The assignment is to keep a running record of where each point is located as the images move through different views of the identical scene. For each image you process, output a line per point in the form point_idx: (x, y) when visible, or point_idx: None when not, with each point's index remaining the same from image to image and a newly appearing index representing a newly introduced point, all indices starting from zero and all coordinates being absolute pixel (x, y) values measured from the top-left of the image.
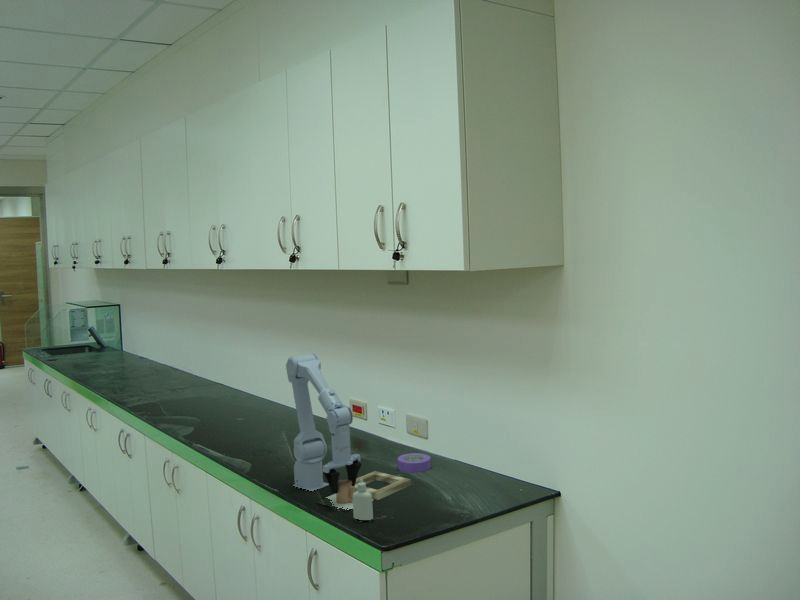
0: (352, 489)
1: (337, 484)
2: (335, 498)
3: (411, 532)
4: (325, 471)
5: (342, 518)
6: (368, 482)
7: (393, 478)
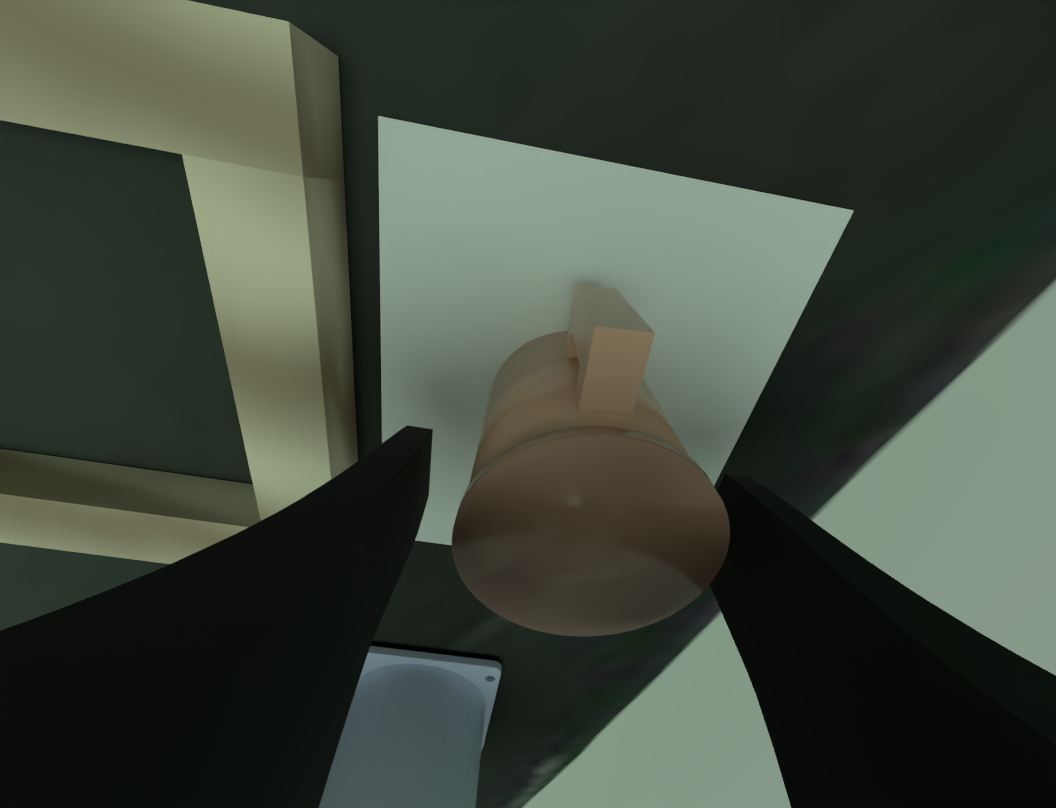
0: (645, 329)
1: (835, 559)
2: None
3: None
4: None
5: (1047, 135)
6: (88, 465)
7: None
